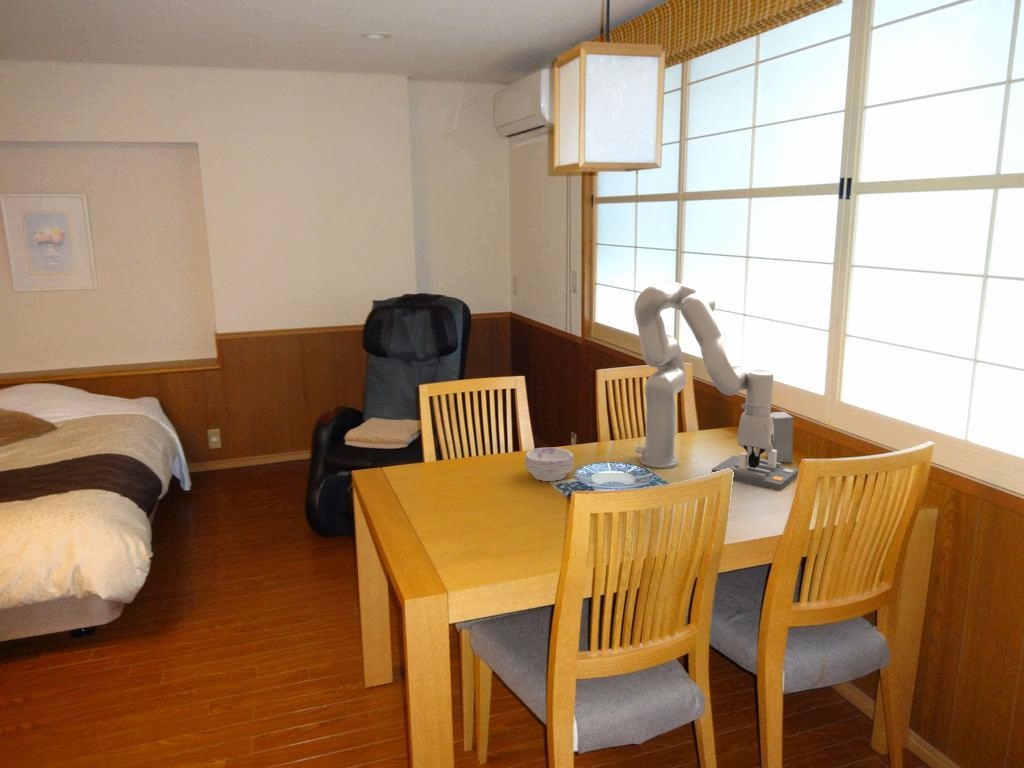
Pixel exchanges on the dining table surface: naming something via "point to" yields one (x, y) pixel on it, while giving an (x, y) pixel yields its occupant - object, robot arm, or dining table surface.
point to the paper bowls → (549, 463)
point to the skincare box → (782, 436)
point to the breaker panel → (760, 473)
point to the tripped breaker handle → (743, 461)
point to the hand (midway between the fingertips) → (753, 466)
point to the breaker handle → (772, 457)
